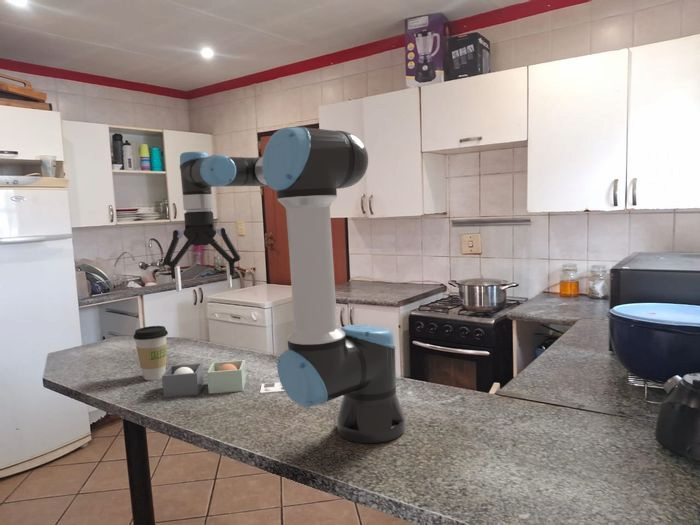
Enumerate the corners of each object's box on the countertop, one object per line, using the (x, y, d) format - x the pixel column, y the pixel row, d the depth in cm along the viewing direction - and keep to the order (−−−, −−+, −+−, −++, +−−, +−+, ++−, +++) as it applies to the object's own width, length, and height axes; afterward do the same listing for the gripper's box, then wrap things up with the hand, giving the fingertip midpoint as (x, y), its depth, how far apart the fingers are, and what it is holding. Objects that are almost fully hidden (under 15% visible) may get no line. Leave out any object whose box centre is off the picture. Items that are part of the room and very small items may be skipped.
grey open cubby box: (198, 394, 139) (196, 373, 138) (163, 397, 138) (161, 376, 137) (204, 383, 148) (202, 363, 147) (172, 385, 147) (170, 365, 146)
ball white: (193, 390, 140) (191, 369, 139) (171, 392, 139) (169, 371, 139) (197, 383, 146) (195, 363, 145) (176, 385, 145) (174, 365, 145)
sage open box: (242, 391, 140) (241, 369, 139) (208, 393, 139) (207, 372, 138) (246, 379, 149) (244, 360, 148) (214, 382, 148) (212, 362, 147)
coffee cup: (172, 379, 153) (168, 330, 151) (137, 384, 149) (132, 334, 147) (170, 369, 162) (166, 323, 160) (137, 374, 158) (133, 327, 156)
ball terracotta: (237, 387, 141) (237, 366, 140) (215, 388, 140) (214, 367, 140) (239, 381, 147) (239, 360, 146) (218, 381, 146) (218, 361, 146)
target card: (293, 390, 138) (293, 389, 138) (260, 393, 137) (259, 392, 137) (293, 381, 145) (293, 380, 145) (261, 384, 144) (261, 383, 144)
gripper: (246, 208, 141) (252, 284, 143) (154, 213, 138) (161, 289, 141) (244, 208, 133) (249, 288, 136) (146, 213, 131) (153, 294, 133)
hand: (204, 289), depth 138 cm, fingers open, 13 cm apart
